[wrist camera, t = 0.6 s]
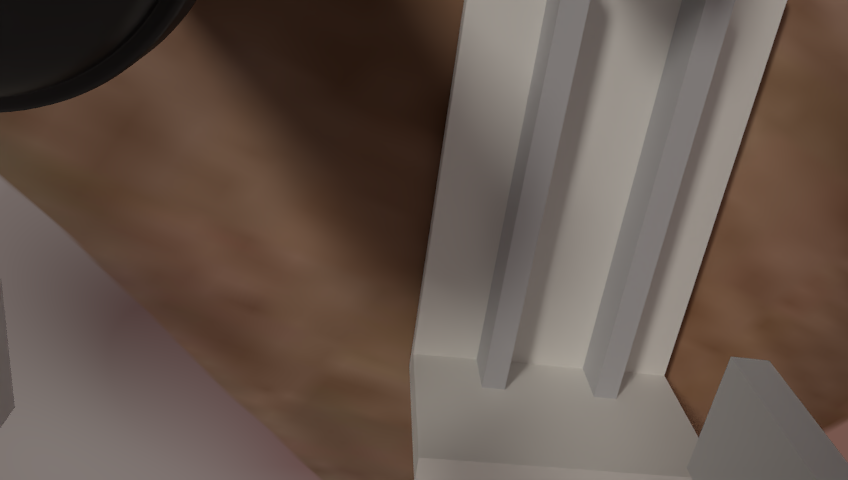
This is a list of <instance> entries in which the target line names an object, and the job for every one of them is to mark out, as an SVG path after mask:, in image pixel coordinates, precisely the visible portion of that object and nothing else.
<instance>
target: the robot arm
mask: <svg viewBox="0 0 848 480" xmlns="http://www.w3.org/2000/svg"><path fill="white" fill-rule="evenodd" d="M14 408H15V406H14V396H13V387H12V378H11V368H10V358H9V350H8V339H7V330H6V321H5V311H4V302H3V292H2V283H1V279H0V427H1V426H2V425H3V423H4V422H5V421H6V419H7V418H8V416H9V414H10V413H11V412H12V410H13V409H14ZM687 469H688V471H689V473H690V475H691V477H692V479H693V480H848V463H847V461H846V460H845V459H844V457H843V456H842V455H841V454H840V452H839V451H838V450H837V448H836V447H835V446H834V444H833V443H832V442H831V440H830V439H829V438H828V437H827V435H826V434H825V433H824V431H823V430H822V429H821V427H820V426H819V425H818V424H817V422H816V421H815V420H814V418H813V417H812V416H811V414H810V413H809V412H808V411H807V409H806V408H805V407H804V405H803V404H802V403H801V401H800V400H799V399H798V398H797V396H796V395H795V394H794V392H793V391H792V390H791V388H790V387H789V386H788V385H787V383H786V382H785V381H784V379H783V378H782V377H781V375H780V374H779V373H778V372H777V370H776V369H775V368H774V366H773V365H772V364H771V362H770V361H767V360H758V359H748V358H739V357H731V358H730V360H729V363H728V365H727V368H726V370H725V373H724V375H723V378H722V380H721V383H720V385H719V388H718V390H717V393H716V395H715V398H714V401H713V403H712V406H711V408H710V411H709V413H708V416H707V418H706V421H705V423H704V426H703V428H702V431H701V433H700V436H699V438H698V441H697V443H696V446H695V448H694V451H693V453H692V456H691V458H690V461H689V463H688V466H687Z"/></svg>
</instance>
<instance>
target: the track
mask: <svg viewBox="0 0 848 480" xmlns="http://www.w3.org/2000/svg"><path fill="white" fill-rule="evenodd" d="M786 2H787V0H464V5H463V12H462V18H461V25H460V32H459V38H458V45H457V52H456V58H455V65H454V72H453V78H452V85H451V92H450V98H449V105H448V112H447V118H446V125H445V132H444V138H443V145H442V152H441V158H440V165H439V172H438V178H437V185H436V192H435V198H434V205H433V212H432V218H431V225H430V232H429V238H428V245H427V252H426V258H425V265H424V272H423V278H422V285H421V292H420V298H419V305H418V312H417V318H416V325H415V332H414V338H413V345H412V352H411V358H410V365H409V369H410V393H411V416H412V440H413V463H414V480H693V479H692V477H691V475H690V473H689V471H688V469H687V466H688V463H689V461H690V458H691V456H692V453H693V451H694V448H695V446H696V443H697V441H698V436H697V434H696V432H695V430H694V429H693V427H692V425H691V423H690V421H689V420H688V418H687V416H686V414H685V412H684V410H683V409H682V407H681V405H680V403H679V401H678V400H677V398H676V396H675V394H674V392H673V390H672V389H671V387H670V385H669V383H668V381H667V380H666V378H665V376H664V375H665V372H666V369H667V366H668V363H669V360H670V357H671V354H672V351H673V348H674V345H675V341H676V338H677V335H678V332H679V329H680V326H681V323H682V320H683V317H684V314H685V311H686V308H687V305H688V302H689V299H690V296H691V293H692V289H693V286H694V283H695V280H696V277H697V274H698V271H699V268H700V265H701V262H702V259H703V256H704V253H705V250H706V247H707V244H708V241H709V238H710V234H711V231H712V228H713V225H714V222H715V219H716V216H717V213H718V210H719V207H720V204H721V201H722V198H723V195H724V192H725V189H726V186H727V183H728V179H729V176H730V173H731V170H732V167H733V164H734V161H735V158H736V155H737V152H738V149H739V146H740V143H741V140H742V137H743V134H744V131H745V128H746V124H747V121H748V118H749V115H750V112H751V109H752V106H753V103H754V100H755V97H756V94H757V91H758V88H759V85H760V82H761V79H762V76H763V73H764V69H765V66H766V63H767V60H768V57H769V54H770V51H771V48H772V45H773V42H774V39H775V36H776V33H777V30H778V27H779V24H780V21H781V18H782V14H783V11H784V8H785V5H786Z"/></svg>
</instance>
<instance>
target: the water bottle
mask: <svg viewBox="0 0 848 480" xmlns="http://www.w3.org/2000/svg"><path fill="white" fill-rule="evenodd" d="M195 1H196V0H0V112H12V111H20V110H27V109H33V108H38V107H42V106H47V105H51V104H55V103H58V102H62V101H65V100H68V99H71V98H74V97H76V96H79V95H81V94H84V93H86V92H88V91H90V90H92V89H95V88H97V87H99V86H100V85H102V84H104V83H106V82H108V81H109V80H111V79H113V78H114V77H116V76H117V75H119V74H120V73H122V72H123V71H124V70H126V69H127V68H129V67H130V66H131V65H133V64H134V63H135V62H137V61H138V60H139V59H141V58H142V57H143V56H145V55H146V54H147V53H149V52H150V51H151V50H152V49H154V48H155V47H156V46H157V45H158V44H160V43H161V42H162V41H163V40H164V39H165V38H166V37H167V36H168V35H169V34H170V33H171V32H172V31H173V30H174V29H175V28H176V27H177V25H178V24H179V23H180V22H181V21H182V19H183V18H184V17H185V16H186V14H187V13H188V12H189V10H190V9H191V7H192V6H193V5H194V3H195Z"/></svg>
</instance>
